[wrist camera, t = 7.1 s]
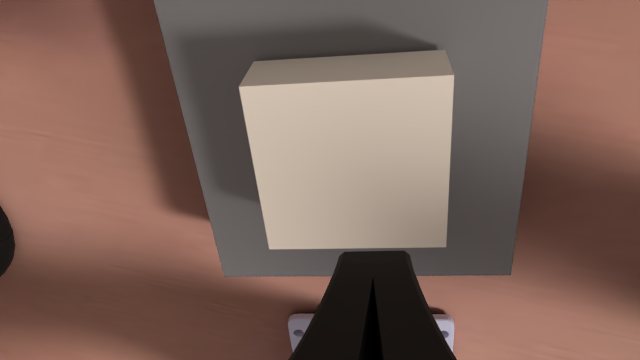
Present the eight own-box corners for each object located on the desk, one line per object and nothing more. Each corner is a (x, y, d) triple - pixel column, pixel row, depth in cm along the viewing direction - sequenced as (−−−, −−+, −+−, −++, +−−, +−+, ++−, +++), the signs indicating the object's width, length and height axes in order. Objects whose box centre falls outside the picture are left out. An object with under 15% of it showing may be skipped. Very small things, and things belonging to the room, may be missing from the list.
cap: (432, 167, 20) (446, 247, 16) (290, 172, 21) (269, 249, 17) (436, 22, 17) (453, 75, 13) (270, 33, 18) (238, 86, 14)
